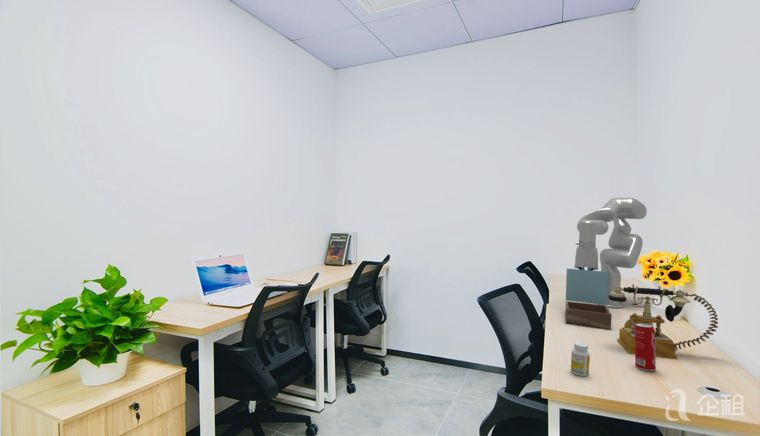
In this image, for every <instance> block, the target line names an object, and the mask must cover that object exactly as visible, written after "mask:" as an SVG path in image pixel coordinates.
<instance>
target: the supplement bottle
mask: <svg viewBox="0 0 760 436" xmlns="http://www.w3.org/2000/svg"><path fill="white" fill-rule="evenodd" d="M573 347H574V348H572V349H571V358H570V372H571V373H572V374H574V375H577V376H580V377H585V376H586V377H587V376H589V374H590V373H589V372H590V358H591V354H590V352H589V345H588V344H587V343H584V342H579V341H576V342H574V344H573Z"/></svg>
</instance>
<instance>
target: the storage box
mask: <svg viewBox="0 0 760 436" xmlns="http://www.w3.org/2000/svg"><path fill="white" fill-rule="evenodd" d="M564 310H565V311H564V312H565V313H564V314H565V315H564V316H565V324H566V325H572V326H579V327H587V328H593V329H601V330H607V331H611V330H612V315H613V314H612V313H611V310H610V309H609V307H607V306H604V305H598V304H593V303H585V302H576V301H567V300H565V309H564Z"/></svg>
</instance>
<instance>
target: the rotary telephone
mask: <svg viewBox="0 0 760 436" xmlns="http://www.w3.org/2000/svg"><path fill="white" fill-rule="evenodd" d="M657 287H658V288H649V287H648V288H647V287H639V286H635V284H634V283H632V284H631V286H627V287H625V286H624V287H622V286H615V288H614V290H615V292H611V293H610V295H609V297H608V298H609V299H610V300H612V301H617V302H620V303H625V302H626V301H627V297H626V294H625V293H627V294H633V302H634V304H636V305H641V304H642V303H643V300H645V303H644V306H643V312H642V315H639V314H637V313H636V312H633V313H632V314H630V315H629V318H628V319H627V320H626V321H625V323H624V325H623V326H622V328H619V338H617V339H616V341H617V343H618V344H619V345H620V346H621V348H623V349H624V351H626V353H628V354H629V355H635V335H634V327H635V324H636V323H646V324H651V325H653V326H654V324H656V325H655V328H654V329H655V358H663V359H673V360H677V359H678V355H677V354H676V351H678V349H679V350H682V347H683V348H684V349H685V348H687V347H686V345H687V346H688V347H691V346H692V345H691V344H690V343H692V344H693V346H697V345H696V343H695V342H697V343H698V344H699V345H701V343H702V342H706V339H710V336H709V335H711V336H713V335H714V333H713V332H717V328H719V326H718V324H719V321H718V320H719V318H718V314H717V311H716V309H715V307H713V305H712V304H711V303H710V302H709V301H707V300H706V298H704V297H702V296H701V295H698V294H696V293H692V294H689V293H688V291H685V290H681V289H676V291H674V290H669V289H666V288H665V287H664V288H662V286H661V285H658V286H657ZM661 288H662V289H661ZM684 291H685V292H684ZM623 292H624V293H623ZM637 294H638V295H650V296H659V297H660V298H654V297H653V298H651V297H650V296H645V297H637V301H636V295H637ZM669 296H672V297H669ZM663 297H669V298H668V300H669V301H672V302H673V304H674V307H673V305H671V304H668V305H666V307H665V311H664V314H665V315H664V316H665V318H666V320H667V321H669V322H670V323H672V322H674V320H675V318H676V317H677V316H679V315H680V314H681V312H682V311H683V308H684V307H685V305H686V304H690V303H691V302H692V301H691V300H689V299H688V298H687V297H694V298H693V301H696V302H697V303H700V305H704V306H703V307H704V308H706V310H707V311H708V312H707V313H708V314H709V315H708V316H709V322H710V323H709V326H707V329H706V330H705V332H703V333H702V334H701V335H700V336H699V337H696V338H693V339H692V340H691V339H690V340H684V341H679V342H676V343H675V342H674V341H673V340H672V339H671V338H670V337H668V336H667V335H666V334H664V333H662V332H661V331H662V328H661V327H662V326H661V325H662V324H665V319H663V318H662V317H663V316H661V315H660V314H658V315H656V316H652V312H651V300H652V304H653V305H654V306H656V307H657V306H661V304H662V303H663ZM639 300H640V302H639ZM658 300H660V302H659V303H658V304H657V303H655V301H656V302H658ZM702 300H703V301H702ZM705 303H706V304H705ZM710 316H711V317H710ZM710 319H711V320H710ZM704 338H706V339H704ZM701 340H702V342H701ZM681 345H682V346H681Z"/></svg>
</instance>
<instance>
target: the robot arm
mask: <svg viewBox="0 0 760 436" xmlns="http://www.w3.org/2000/svg"><path fill="white" fill-rule="evenodd" d="M647 213H648V210H647V207H646V205H645V204H644V203H642V202H641V201H639V200H638V199H636V198H634V197H613V198H610V199H609V200H608V201H607V202H606V203H605V204H604V205H603V206H602V207H600V209H596V210H594V211H591V212H588V213H586V214H584V215H583V216H581V218H580V219H579V220H578V222H577V225H576V229H577V231H578V232H579V233H578V235H579V236H578V241H575V245H576V246H577V247H576V249H575V250H576V252H575V256H574V257H575V259H574V263H575V264H574V269H579V270H591V271H599V261H600V271H603V272H608V288H607V305H604V306H607V307H608V308H611V309H621V308H624V305H623V304H622V302H617V301H612V300H610V299H609V298H608V297H609V295H610V293H611V292H615V290H614V288H615V286H621V284H622V282H621V281H622V275H621V271H620V270H619V269H618V268H624V269H633V268H635V267H636V266H637V262H638V261H639V258H640V254H641V251H642V248H643V242H644V241H643V238H642V237H641V236H640V235H638V234H636V233H631V232H632V227H631V225H630V223H629V222H628V221H627V219H628V220H629V219H630V220H641V219H642V220H643V219H644V218H646V216H647ZM610 222H613V228H612V231H611V233H610V237H609V238H608V239H609V240H608V247H609V248H604V249H602V250H601V251H600V252H599V251H598V248H597V244H596V243H597V235H598V236H601V235H605V234H606V233H608V231H609V225H608V223H610ZM599 253H600V254H599ZM585 268H587V269H585ZM621 287H622V286H621ZM597 305H602V304H597Z"/></svg>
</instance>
